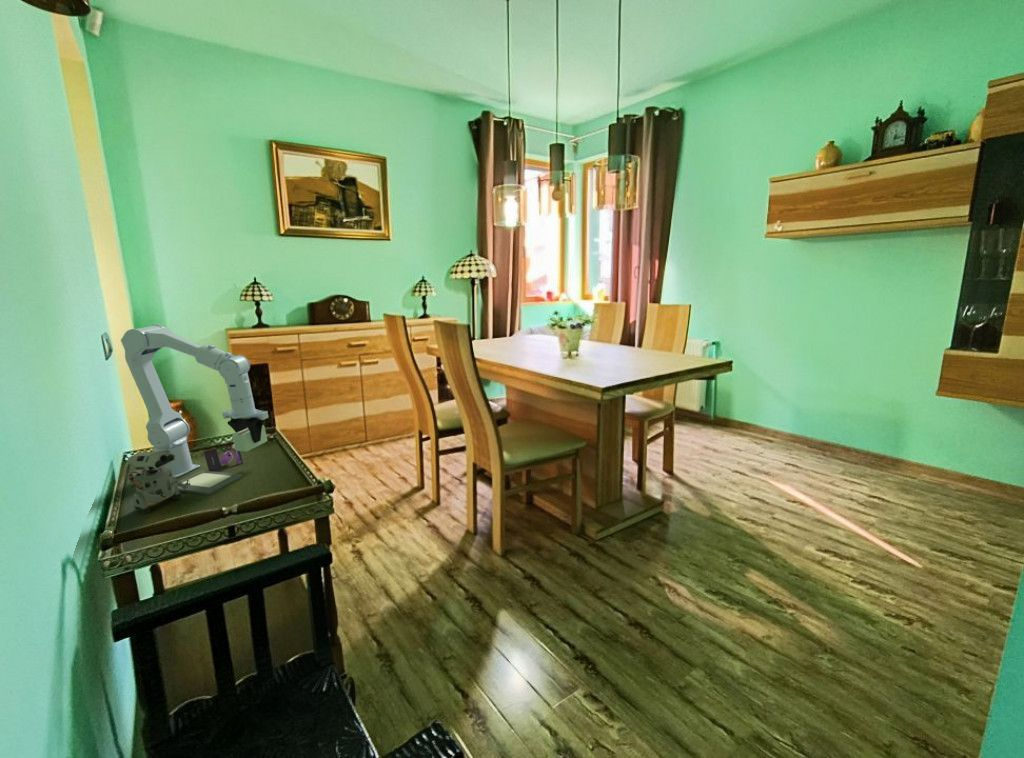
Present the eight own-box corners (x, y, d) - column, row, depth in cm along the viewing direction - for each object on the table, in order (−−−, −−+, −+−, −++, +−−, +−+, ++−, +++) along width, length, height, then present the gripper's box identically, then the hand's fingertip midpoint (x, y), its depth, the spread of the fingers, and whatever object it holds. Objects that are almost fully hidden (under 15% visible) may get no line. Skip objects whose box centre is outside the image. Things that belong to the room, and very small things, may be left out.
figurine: (156, 519, 116) (140, 462, 112) (133, 510, 121) (116, 456, 117) (195, 501, 124) (181, 448, 120) (171, 494, 129) (157, 442, 125)
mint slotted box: (235, 450, 138) (232, 434, 137) (256, 440, 145) (253, 424, 144) (246, 451, 137) (243, 434, 136) (267, 440, 144) (264, 425, 143)
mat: (165, 489, 132) (165, 487, 132) (201, 472, 142) (201, 469, 142) (208, 494, 127) (207, 492, 127) (242, 476, 137) (242, 474, 137)
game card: (203, 451, 140) (237, 442, 146) (202, 452, 144) (235, 443, 150) (209, 473, 140) (243, 463, 146) (208, 473, 144) (241, 464, 150)
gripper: (209, 401, 136) (220, 445, 139) (251, 402, 132) (260, 447, 135) (229, 394, 142) (239, 436, 146) (269, 394, 138) (278, 438, 142)
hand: (251, 441), depth 141 cm, fingers closed on mint slotted box, 4 cm apart
